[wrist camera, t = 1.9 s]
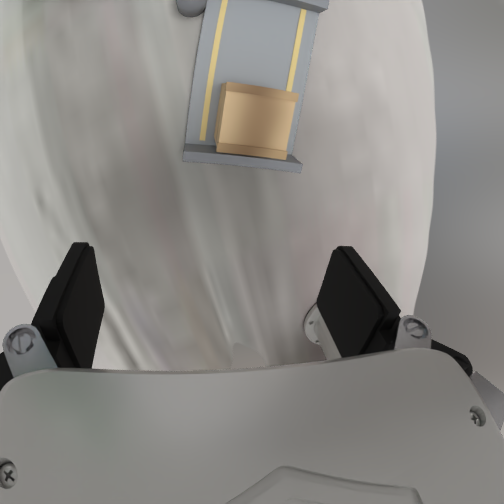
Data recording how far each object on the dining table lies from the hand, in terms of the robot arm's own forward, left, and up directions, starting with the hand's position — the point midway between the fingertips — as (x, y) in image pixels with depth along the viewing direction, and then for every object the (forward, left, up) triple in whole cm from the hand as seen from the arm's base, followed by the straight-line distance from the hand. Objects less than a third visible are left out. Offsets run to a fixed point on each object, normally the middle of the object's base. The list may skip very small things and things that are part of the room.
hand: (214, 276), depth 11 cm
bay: (-3, -9, -25) cm, 26 cm away
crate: (-4, -4, -24) cm, 24 cm away
